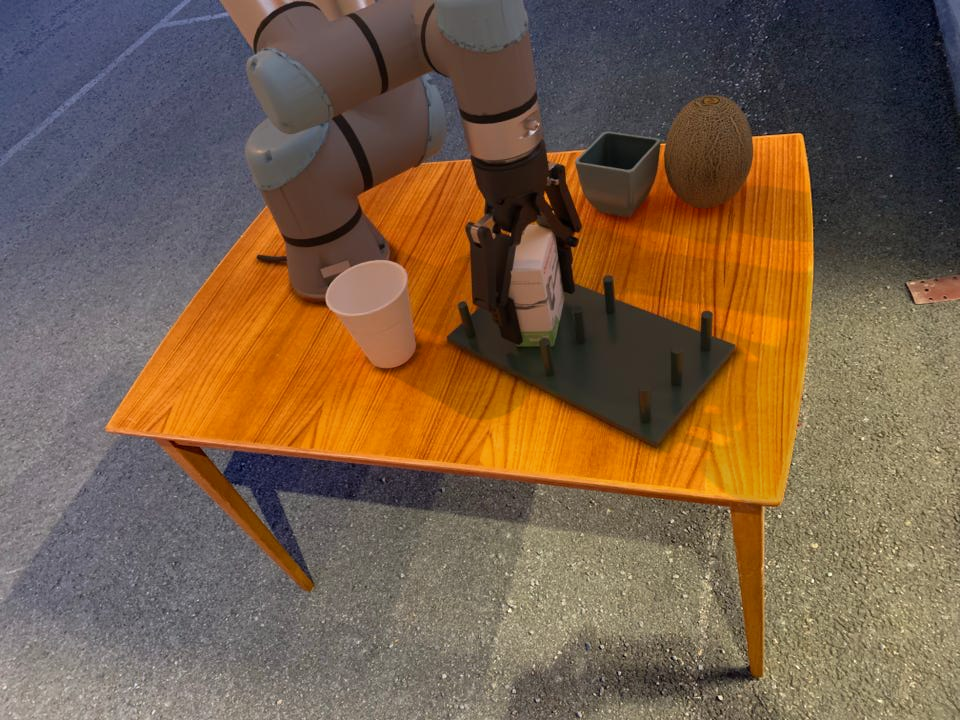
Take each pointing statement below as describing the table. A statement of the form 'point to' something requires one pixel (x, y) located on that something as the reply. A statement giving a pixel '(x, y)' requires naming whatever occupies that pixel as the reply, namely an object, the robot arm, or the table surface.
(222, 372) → the table surface
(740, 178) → the fruit
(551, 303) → the ink box
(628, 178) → the flower pot
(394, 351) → the cup
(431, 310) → the table surface
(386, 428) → the table surface
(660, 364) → the dish rack
